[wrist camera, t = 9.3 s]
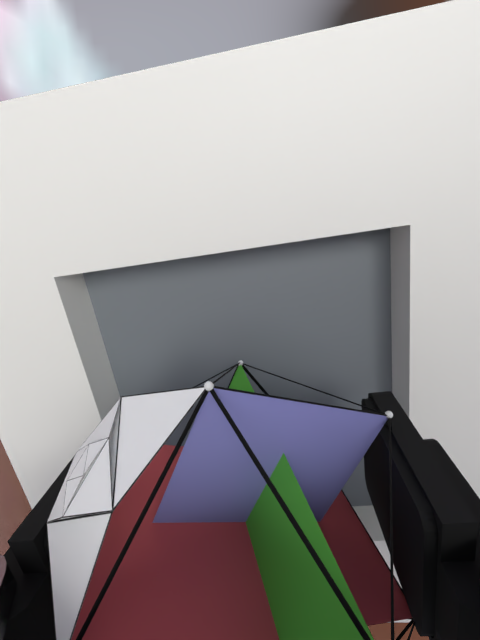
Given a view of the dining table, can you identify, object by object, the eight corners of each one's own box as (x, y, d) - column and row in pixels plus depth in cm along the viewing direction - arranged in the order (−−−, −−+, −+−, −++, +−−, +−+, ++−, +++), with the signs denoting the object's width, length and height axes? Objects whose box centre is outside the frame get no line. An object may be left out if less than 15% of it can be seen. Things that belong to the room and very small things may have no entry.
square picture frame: (528, 26, 9) (621, -38, 7) (477, 557, 15) (516, 621, 13) (-53, 148, 11) (-139, 132, 9) (109, 567, 17) (84, 624, 15)
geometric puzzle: (523, 458, 7) (627, 1266, 1) (372, 631, 10) (131, 1225, 3) (280, 308, 11) (2, 310, 5) (212, 457, 13) (-39, 587, 7)
